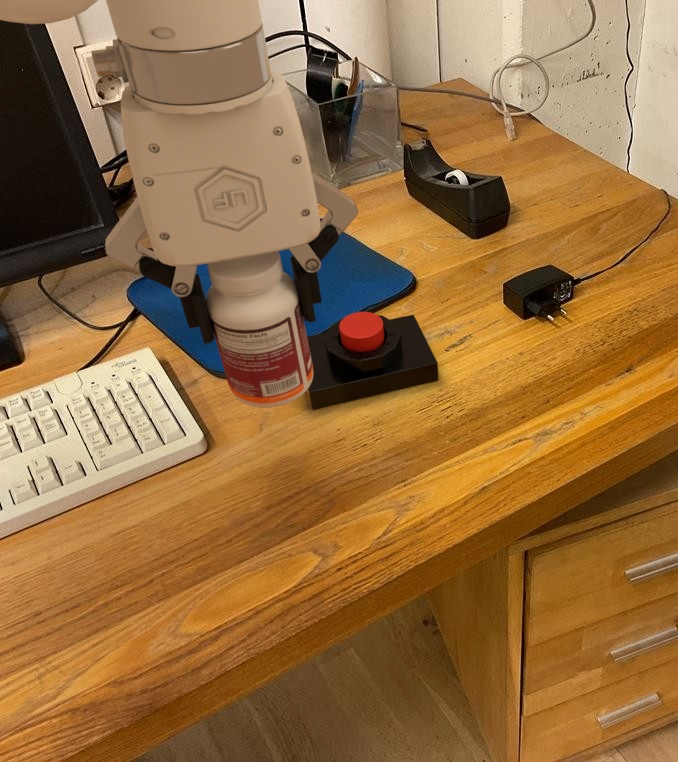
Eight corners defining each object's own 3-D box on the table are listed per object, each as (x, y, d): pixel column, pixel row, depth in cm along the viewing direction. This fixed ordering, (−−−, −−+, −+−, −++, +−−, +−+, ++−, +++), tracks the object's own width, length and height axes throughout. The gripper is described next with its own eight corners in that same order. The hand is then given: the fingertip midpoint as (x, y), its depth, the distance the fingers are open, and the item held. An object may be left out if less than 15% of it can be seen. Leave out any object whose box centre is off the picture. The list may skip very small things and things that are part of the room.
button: (346, 356, 74) (344, 341, 72) (337, 331, 76) (334, 316, 75) (389, 347, 75) (387, 332, 74) (378, 322, 78) (376, 307, 76)
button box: (312, 410, 74) (306, 377, 71) (296, 356, 79) (290, 324, 76) (438, 380, 77) (437, 347, 74) (414, 331, 82) (412, 299, 80)
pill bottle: (259, 348, 63) (231, 225, 56) (329, 367, 62) (309, 243, 55) (212, 399, 59) (175, 273, 52) (286, 420, 58) (259, 293, 50)
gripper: (22, 109, 40) (128, 382, 52) (368, 68, 45) (392, 326, 57) (29, 56, 45) (124, 315, 57) (338, 24, 50) (366, 269, 62)
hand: (257, 319), depth 57 cm, fingers closed on pill bottle, 6 cm apart
